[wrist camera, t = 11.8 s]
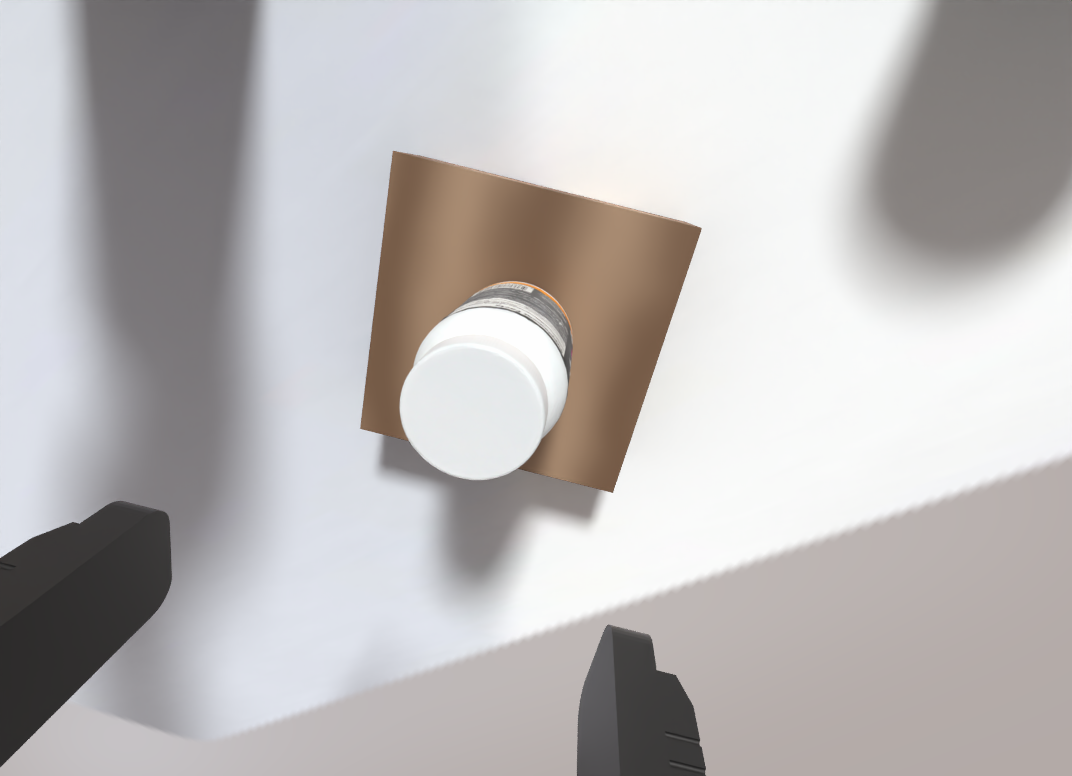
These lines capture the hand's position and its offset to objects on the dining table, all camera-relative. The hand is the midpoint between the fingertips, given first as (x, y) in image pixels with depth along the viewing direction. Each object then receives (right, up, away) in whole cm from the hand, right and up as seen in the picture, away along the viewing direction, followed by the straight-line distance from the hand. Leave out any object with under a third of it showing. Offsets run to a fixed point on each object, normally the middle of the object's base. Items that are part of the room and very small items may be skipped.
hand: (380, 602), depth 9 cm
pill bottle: (+2, +6, +16) cm, 18 cm away
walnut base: (+2, +8, +20) cm, 22 cm away
